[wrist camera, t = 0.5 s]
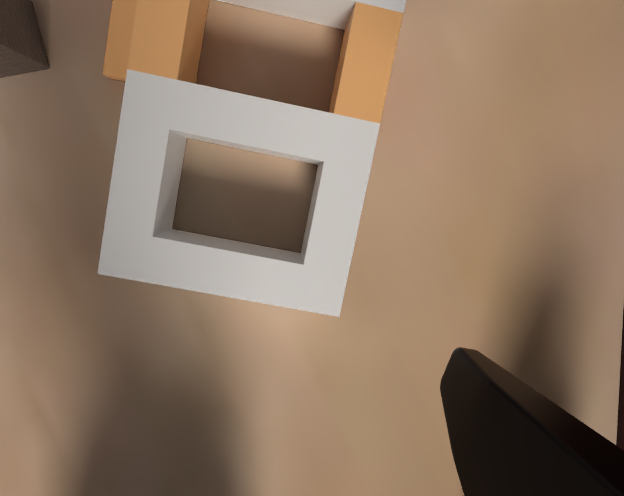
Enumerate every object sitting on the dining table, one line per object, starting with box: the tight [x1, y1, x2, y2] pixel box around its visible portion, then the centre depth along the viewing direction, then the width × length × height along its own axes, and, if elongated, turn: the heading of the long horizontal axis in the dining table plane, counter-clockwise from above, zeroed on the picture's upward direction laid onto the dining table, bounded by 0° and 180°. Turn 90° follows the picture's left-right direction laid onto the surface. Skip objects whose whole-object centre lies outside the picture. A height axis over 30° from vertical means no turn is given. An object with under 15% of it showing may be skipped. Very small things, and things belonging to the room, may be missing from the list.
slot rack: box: [97, 0, 406, 317], centre depth 21 cm, size 22×12×4 cm, turn 169°
